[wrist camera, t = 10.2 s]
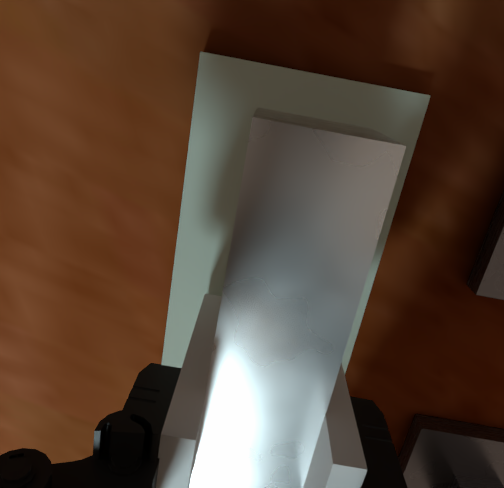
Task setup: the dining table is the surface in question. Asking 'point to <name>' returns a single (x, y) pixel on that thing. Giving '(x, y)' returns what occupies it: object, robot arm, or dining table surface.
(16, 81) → the dining table surface
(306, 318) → the rail
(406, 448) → the post
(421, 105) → the pad
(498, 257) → the post
